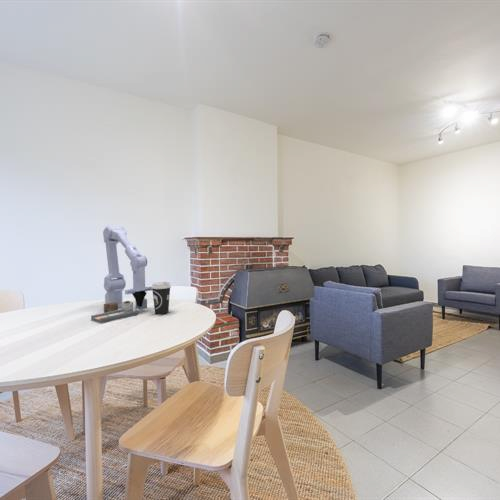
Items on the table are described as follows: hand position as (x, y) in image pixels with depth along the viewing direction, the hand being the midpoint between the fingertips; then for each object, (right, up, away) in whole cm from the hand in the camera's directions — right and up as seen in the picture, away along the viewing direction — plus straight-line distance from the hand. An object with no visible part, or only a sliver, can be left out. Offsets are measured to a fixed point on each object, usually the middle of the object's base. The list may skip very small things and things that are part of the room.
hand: (139, 306), depth 145 cm
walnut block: (-14, -3, -2) cm, 14 cm away
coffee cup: (+12, -3, -2) cm, 13 cm away
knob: (-4, -2, -5) cm, 7 cm away
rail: (-8, -3, -10) cm, 13 cm away
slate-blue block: (-2, -3, +8) cm, 9 cm away
